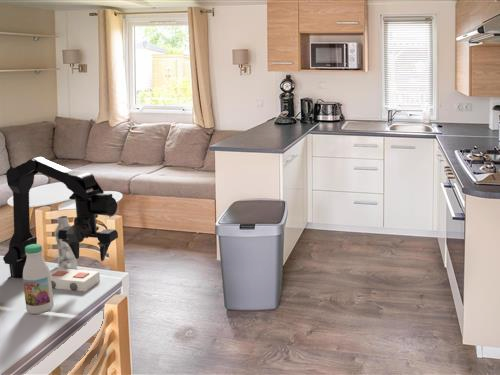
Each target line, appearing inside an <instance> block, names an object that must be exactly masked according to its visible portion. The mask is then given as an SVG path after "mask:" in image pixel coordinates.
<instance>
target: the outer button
mask: <svg viewBox="0 0 500 375" xmlns="http://www.w3.org/2000/svg"><path fill="white" fill-rule="evenodd" d="M88 275H89V273H81V272H79V273H78V274H76V275H74V276H73V278H85V277H86V276H88Z"/></svg>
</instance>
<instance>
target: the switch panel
mask: <svg viewBox="0 0 500 375" xmlns="http://www.w3.org/2000/svg"><path fill="white" fill-rule="evenodd" d="M49 271H50V276H51V284H52V289H57V290H58V289H59V290H67V291H68V290H70V291H73V292H74V291H77V292H78V291H79V292H86V291H88V290H89V289H90V288H92V287H93V286H95V285H97V284H98V283H99V282H100V281H101V276H100V271H98V270H97V271H95V270H83V269H64V268H58V266H57V267H54V268H52V269H51V270H49ZM57 271H67V272H68V273H67V274H65V275H63V276H52V274H54V273H56V272H57ZM79 272H81V273H89V275H88V276H86V277H85V278H73V276H74V275H76V274H78V273H79Z"/></svg>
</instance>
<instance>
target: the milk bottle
mask: <svg viewBox="0 0 500 375" xmlns="http://www.w3.org/2000/svg"><path fill="white" fill-rule="evenodd" d="M42 246H43V245H41V244H40V243H36V244H31V245H28V246H26V247H25V252H26V255H27V259H26V263H25V266H24V269H23V278H22V283H23V291H24V292H23V293H24V299H25V300H24V301H25V310H26V311H27V314H28V313H29V314H31V315H40V314H45V313H48V312H49V311H48V310H51V309H52V308H53V307H54V306H55V305H54V294H53V288H52V284H51V276H50V271H51V270H50V267H49V265H48V264H47V262H46V261H45V259H44V256H43V254H42V253H43V247H42Z"/></svg>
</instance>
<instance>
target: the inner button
mask: <svg viewBox="0 0 500 375" xmlns="http://www.w3.org/2000/svg"><path fill="white" fill-rule="evenodd" d="M67 273H68V272H67V271H57V272H56V273H54V274H52V276H63V275H65V274H67Z"/></svg>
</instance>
